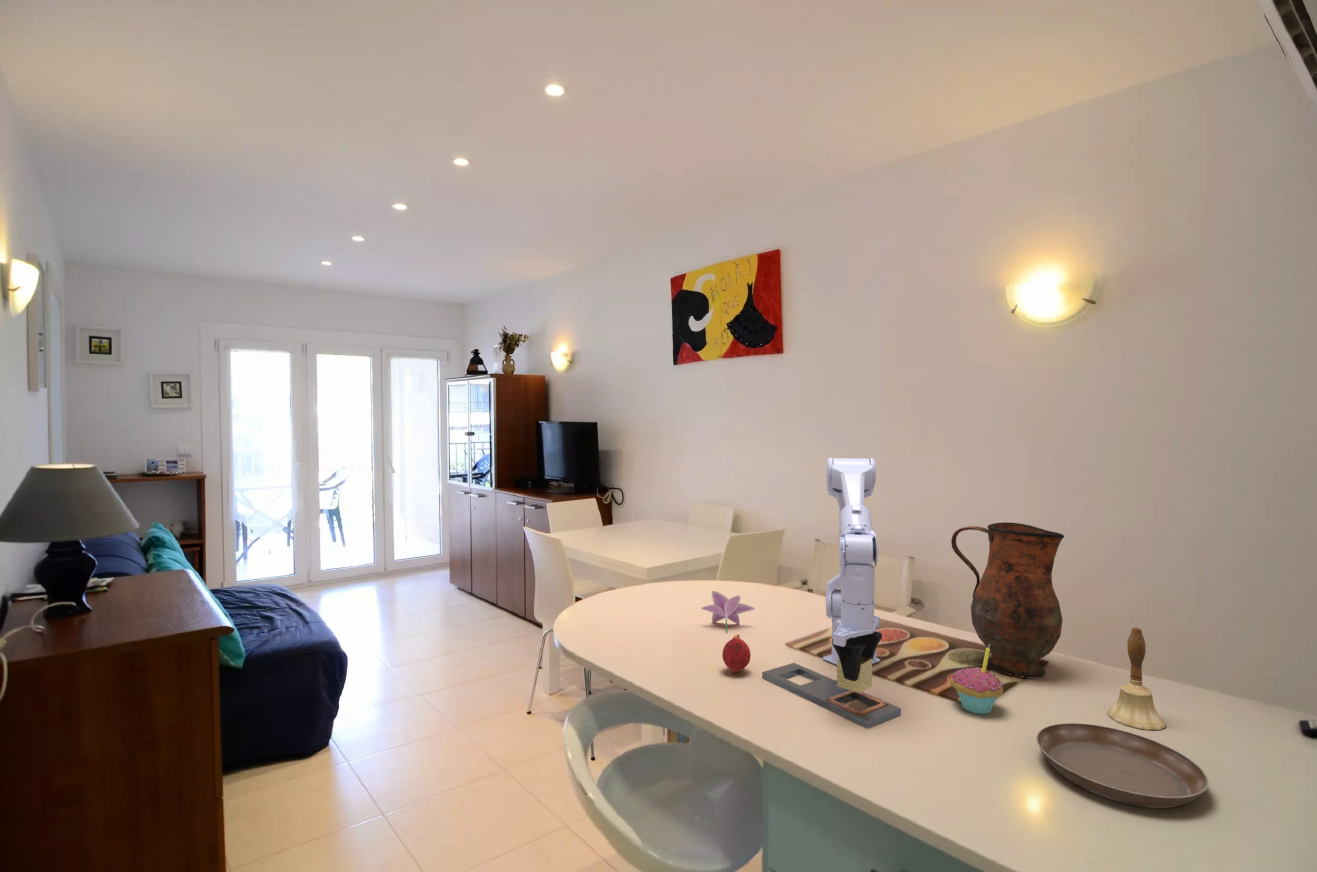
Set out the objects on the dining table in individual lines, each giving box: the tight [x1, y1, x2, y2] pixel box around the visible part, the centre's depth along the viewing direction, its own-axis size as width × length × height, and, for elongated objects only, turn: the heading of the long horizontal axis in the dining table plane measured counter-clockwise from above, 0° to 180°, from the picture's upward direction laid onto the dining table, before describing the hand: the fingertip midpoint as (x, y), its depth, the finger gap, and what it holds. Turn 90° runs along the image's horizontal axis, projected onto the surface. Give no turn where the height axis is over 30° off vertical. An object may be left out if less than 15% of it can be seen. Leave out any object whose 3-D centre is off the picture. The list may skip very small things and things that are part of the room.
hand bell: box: [1106, 627, 1167, 731], centre depth 115 cm, size 8×8×16 cm
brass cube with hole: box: [836, 656, 873, 693], centre depth 119 cm, size 4×4×5 cm
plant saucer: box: [1035, 722, 1209, 809], centre depth 97 cm, size 21×21×3 cm
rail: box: [761, 662, 902, 729], centre depth 125 cm, size 9×26×1 cm, turn 34°
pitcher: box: [950, 521, 1065, 678], centre depth 139 cm, size 17×21×30 cm
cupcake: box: [949, 644, 1004, 715], centre depth 119 cm, size 9×8×12 cm
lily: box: [701, 590, 755, 634], centre depth 164 cm, size 12×12×10 cm
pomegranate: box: [721, 633, 752, 674], centre depth 136 cm, size 6×6×8 cm
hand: (857, 675), depth 119 cm, fingers closed on brass cube with hole, 4 cm apart
